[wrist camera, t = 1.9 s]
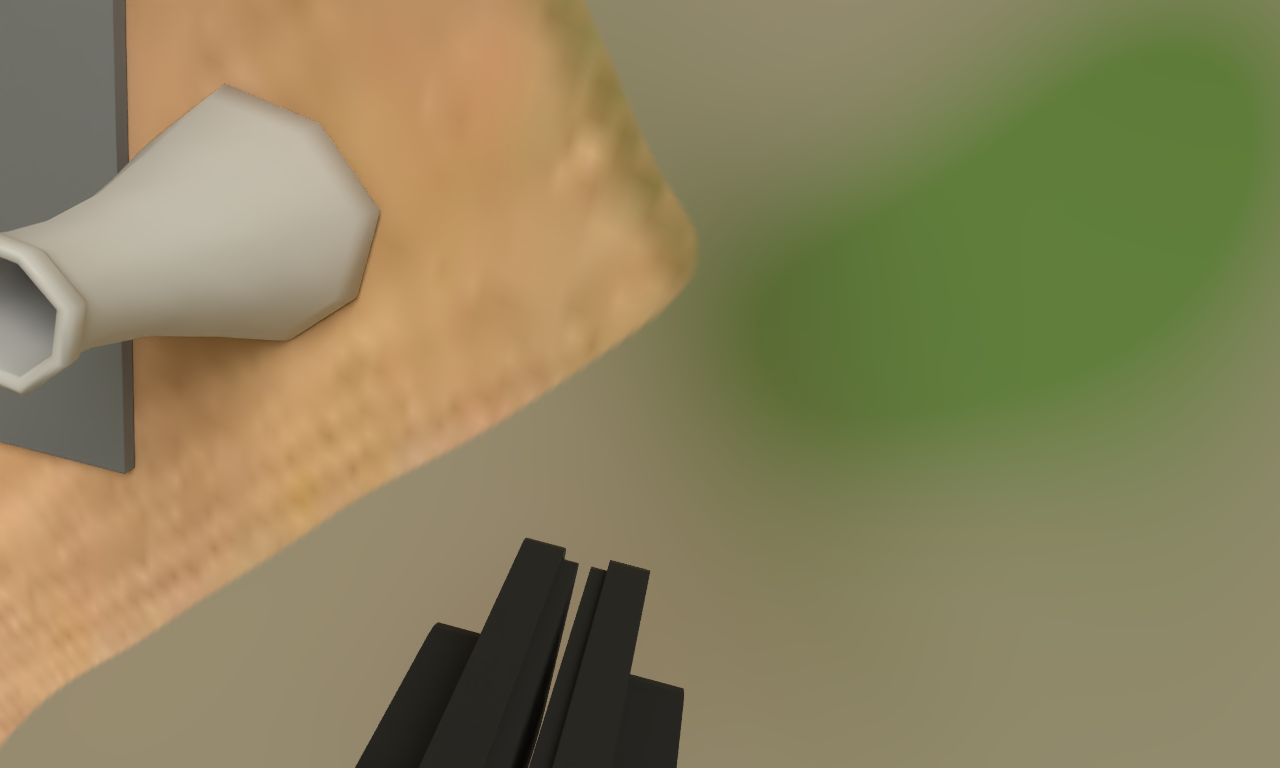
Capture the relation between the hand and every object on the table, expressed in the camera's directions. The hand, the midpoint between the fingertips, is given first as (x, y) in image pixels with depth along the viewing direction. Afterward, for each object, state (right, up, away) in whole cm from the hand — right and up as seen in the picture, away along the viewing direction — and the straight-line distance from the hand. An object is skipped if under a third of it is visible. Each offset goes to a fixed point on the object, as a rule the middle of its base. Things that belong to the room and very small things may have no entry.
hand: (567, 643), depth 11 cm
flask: (-10, +8, +14) cm, 20 cm away
